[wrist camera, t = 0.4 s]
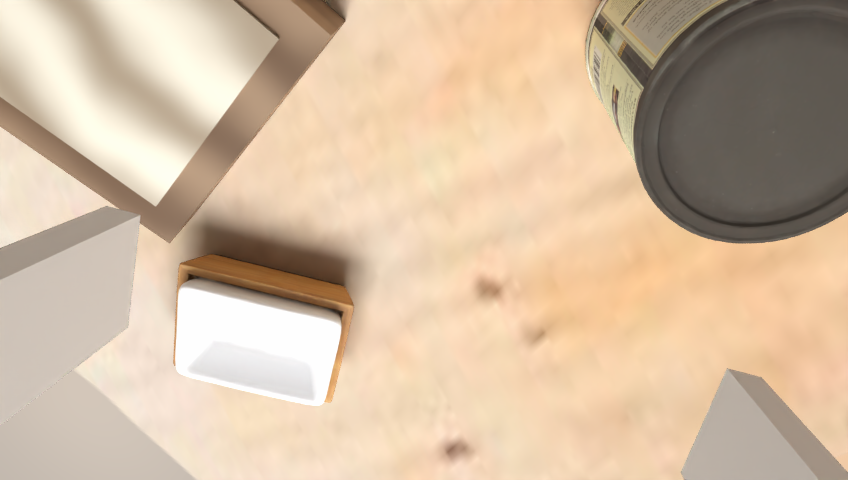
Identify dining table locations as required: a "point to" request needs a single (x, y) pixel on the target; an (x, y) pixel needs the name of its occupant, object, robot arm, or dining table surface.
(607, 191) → the dining table surface
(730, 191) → the coffee can
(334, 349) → the soap dish
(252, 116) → the pedestal
